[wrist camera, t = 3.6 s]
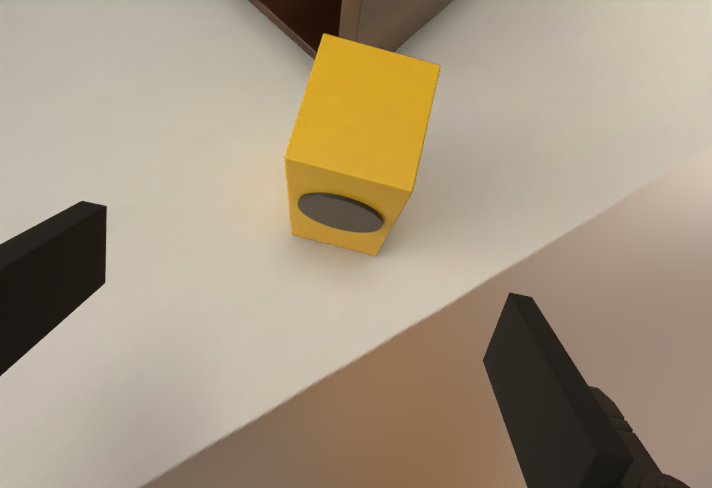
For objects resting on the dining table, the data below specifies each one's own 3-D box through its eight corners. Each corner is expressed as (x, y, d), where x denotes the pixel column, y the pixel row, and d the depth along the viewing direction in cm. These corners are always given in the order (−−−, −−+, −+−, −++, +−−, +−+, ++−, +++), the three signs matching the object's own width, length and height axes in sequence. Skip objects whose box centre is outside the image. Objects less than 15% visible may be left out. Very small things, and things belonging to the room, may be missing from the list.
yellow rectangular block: (290, 237, 33) (282, 163, 21) (318, 142, 35) (324, 28, 23) (374, 259, 33) (411, 197, 22) (397, 164, 35) (442, 60, 24)
